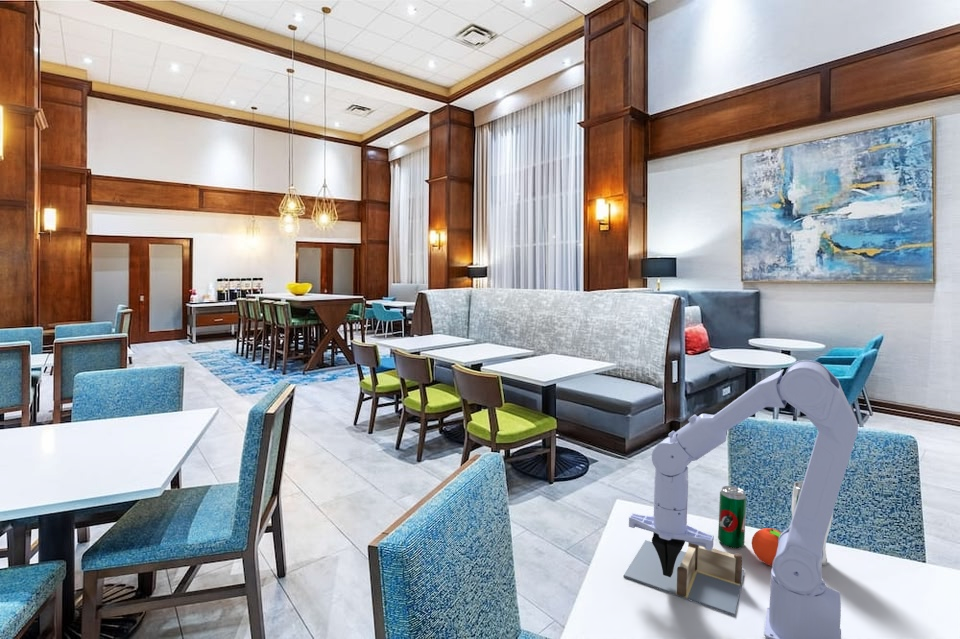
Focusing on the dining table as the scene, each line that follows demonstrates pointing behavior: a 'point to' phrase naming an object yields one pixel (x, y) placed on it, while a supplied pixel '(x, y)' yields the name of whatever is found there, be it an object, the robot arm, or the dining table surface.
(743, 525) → the soda can
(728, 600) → the card
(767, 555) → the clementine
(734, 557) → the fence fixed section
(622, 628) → the dining table surface
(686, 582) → the panel
